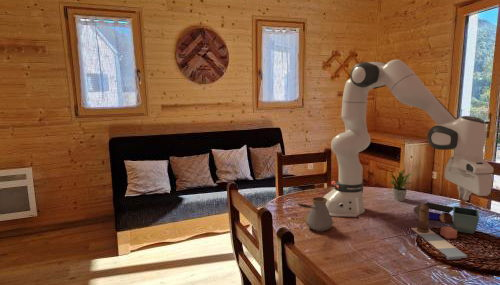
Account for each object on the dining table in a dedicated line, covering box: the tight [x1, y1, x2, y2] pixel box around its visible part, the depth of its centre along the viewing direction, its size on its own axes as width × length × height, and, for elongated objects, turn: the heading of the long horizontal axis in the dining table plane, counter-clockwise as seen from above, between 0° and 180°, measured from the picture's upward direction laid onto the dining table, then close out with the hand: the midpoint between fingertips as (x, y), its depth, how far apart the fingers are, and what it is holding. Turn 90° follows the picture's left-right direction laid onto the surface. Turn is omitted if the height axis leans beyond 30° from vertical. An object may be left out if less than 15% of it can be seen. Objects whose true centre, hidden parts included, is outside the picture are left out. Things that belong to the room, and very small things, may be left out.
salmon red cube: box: [439, 226, 458, 239], centre depth 132 cm, size 4×4×4 cm
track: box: [410, 227, 468, 261], centre depth 128 cm, size 7×24×1 cm, turn 4°
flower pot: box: [452, 205, 480, 235], centre depth 136 cm, size 9×9×9 cm
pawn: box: [416, 205, 430, 233], centre depth 136 cm, size 4×4×11 cm
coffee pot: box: [295, 196, 334, 232], centre depth 140 cm, size 21×12×15 cm, turn 135°
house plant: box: [388, 170, 413, 202], centre depth 174 cm, size 14×14×16 cm
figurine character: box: [413, 202, 454, 224], centre depth 149 cm, size 7×8×15 cm
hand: (463, 199), depth 121 cm, fingers closed
